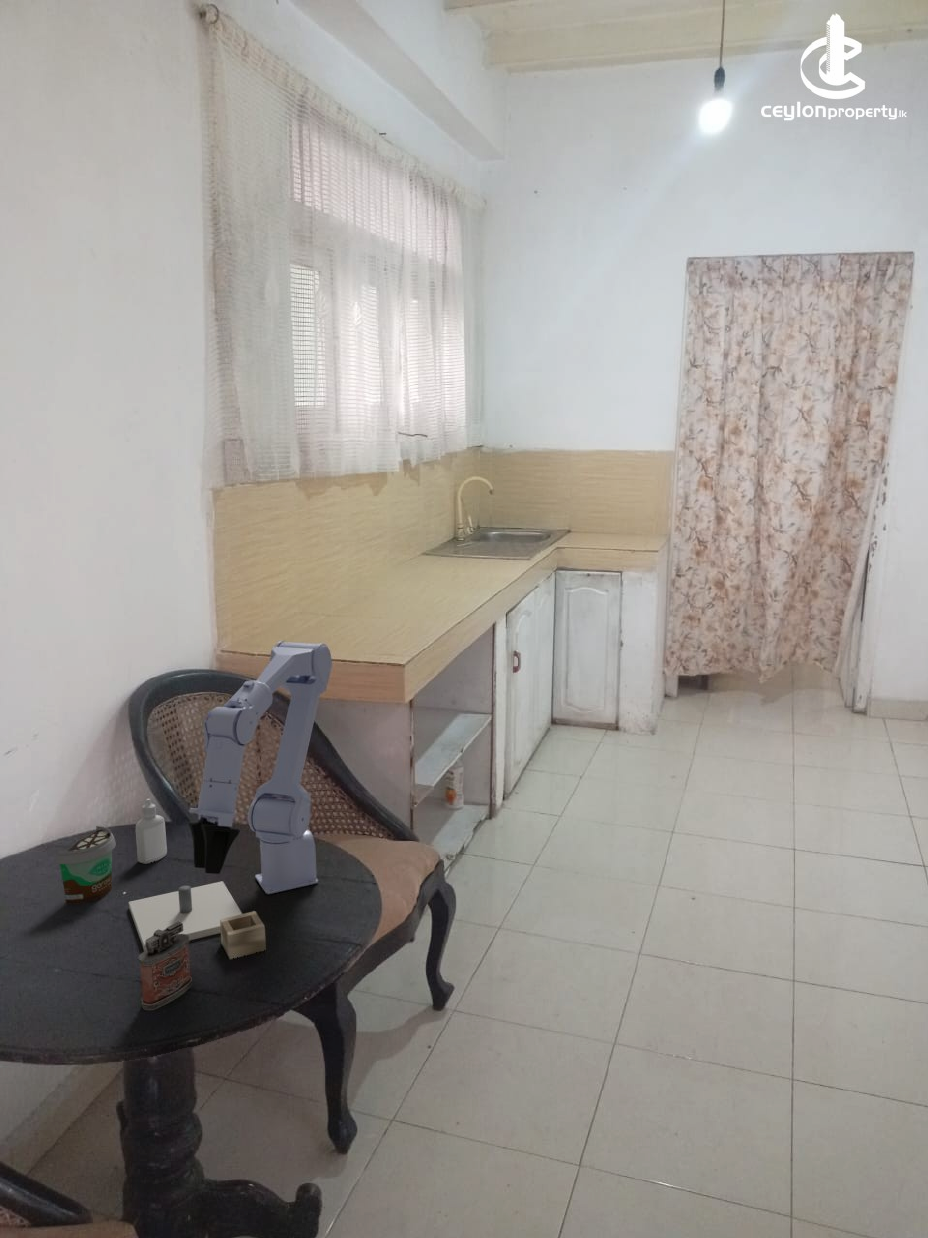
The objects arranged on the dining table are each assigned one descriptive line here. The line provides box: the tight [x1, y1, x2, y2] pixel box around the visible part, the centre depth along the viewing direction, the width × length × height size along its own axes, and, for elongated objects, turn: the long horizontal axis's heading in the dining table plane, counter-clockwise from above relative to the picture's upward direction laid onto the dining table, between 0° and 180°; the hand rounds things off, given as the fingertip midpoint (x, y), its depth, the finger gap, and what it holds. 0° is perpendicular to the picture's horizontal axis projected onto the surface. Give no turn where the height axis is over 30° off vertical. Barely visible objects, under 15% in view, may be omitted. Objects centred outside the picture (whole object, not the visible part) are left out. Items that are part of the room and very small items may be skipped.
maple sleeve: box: [220, 910, 267, 960], centre depth 145 cm, size 6×6×4 cm
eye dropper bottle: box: [135, 798, 168, 865], centre depth 177 cm, size 4×6×12 cm
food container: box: [56, 825, 117, 905], centre depth 163 cm, size 12×6×10 cm, turn 168°
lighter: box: [137, 922, 193, 1011], centre depth 132 cm, size 8×3×10 cm, turn 148°
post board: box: [128, 881, 243, 952], centre depth 154 cm, size 16×16×5 cm
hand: (206, 870), depth 144 cm, fingers open, 7 cm apart
